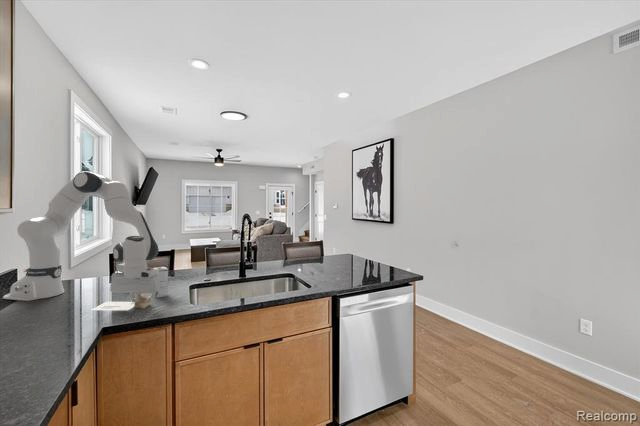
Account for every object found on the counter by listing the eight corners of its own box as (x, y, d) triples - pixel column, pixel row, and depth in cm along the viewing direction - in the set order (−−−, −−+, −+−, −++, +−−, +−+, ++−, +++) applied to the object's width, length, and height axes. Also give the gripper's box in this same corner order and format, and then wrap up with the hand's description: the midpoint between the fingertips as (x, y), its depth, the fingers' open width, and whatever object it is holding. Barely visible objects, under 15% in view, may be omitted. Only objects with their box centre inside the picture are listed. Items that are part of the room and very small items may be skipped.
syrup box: (151, 295, 146) (152, 267, 145) (164, 293, 150) (164, 266, 150) (155, 298, 142) (155, 269, 142) (168, 296, 146) (168, 268, 146)
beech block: (133, 307, 128) (136, 297, 128) (139, 303, 132) (141, 294, 132) (144, 309, 128) (146, 299, 128) (149, 305, 133) (151, 296, 133)
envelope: (89, 311, 124) (89, 310, 124) (106, 302, 135) (106, 301, 135) (127, 311, 125) (127, 310, 125) (141, 302, 136) (141, 301, 136)
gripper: (106, 273, 126) (106, 304, 127) (154, 273, 127) (154, 304, 128) (116, 270, 132) (116, 299, 133) (161, 270, 134) (161, 299, 134)
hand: (135, 302), depth 130 cm, fingers closed
